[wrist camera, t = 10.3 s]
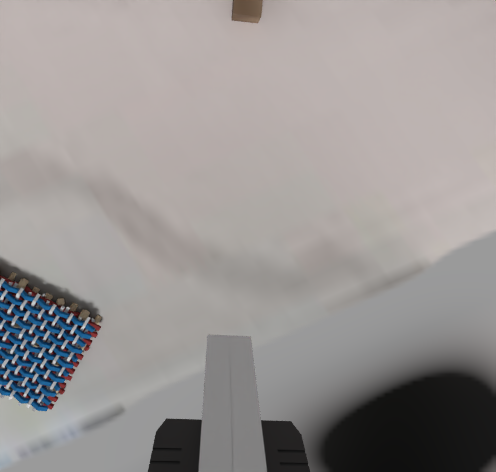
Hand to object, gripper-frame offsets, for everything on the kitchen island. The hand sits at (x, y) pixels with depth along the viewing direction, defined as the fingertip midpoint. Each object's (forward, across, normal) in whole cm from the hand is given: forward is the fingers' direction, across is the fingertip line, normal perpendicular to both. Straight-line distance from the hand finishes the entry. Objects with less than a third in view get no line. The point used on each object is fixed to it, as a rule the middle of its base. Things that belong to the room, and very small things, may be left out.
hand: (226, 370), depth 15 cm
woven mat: (+22, -17, -12) cm, 30 cm away
